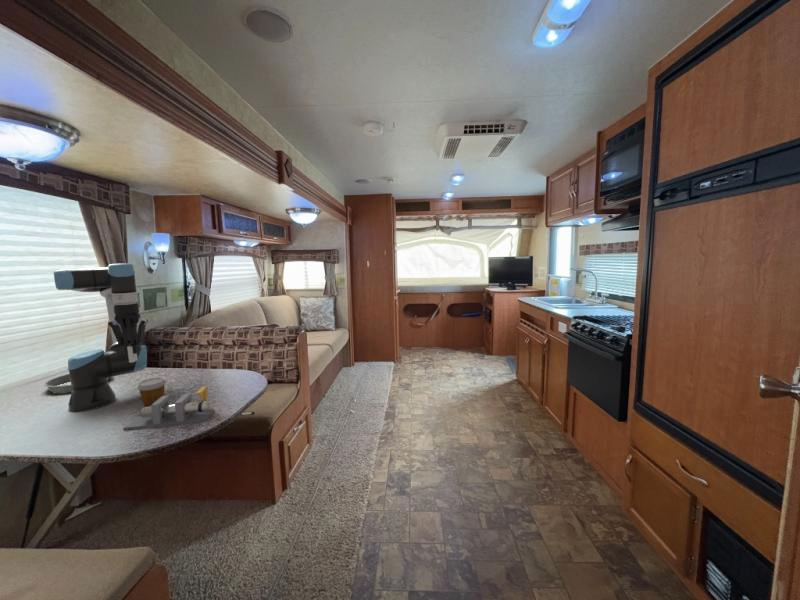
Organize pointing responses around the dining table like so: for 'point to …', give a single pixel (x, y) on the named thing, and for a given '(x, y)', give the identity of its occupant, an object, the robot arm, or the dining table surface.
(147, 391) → the disposable coffee cup
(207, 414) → the collar bench
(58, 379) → the cake pan
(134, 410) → the dining table surface
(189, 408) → the aluminium tube
